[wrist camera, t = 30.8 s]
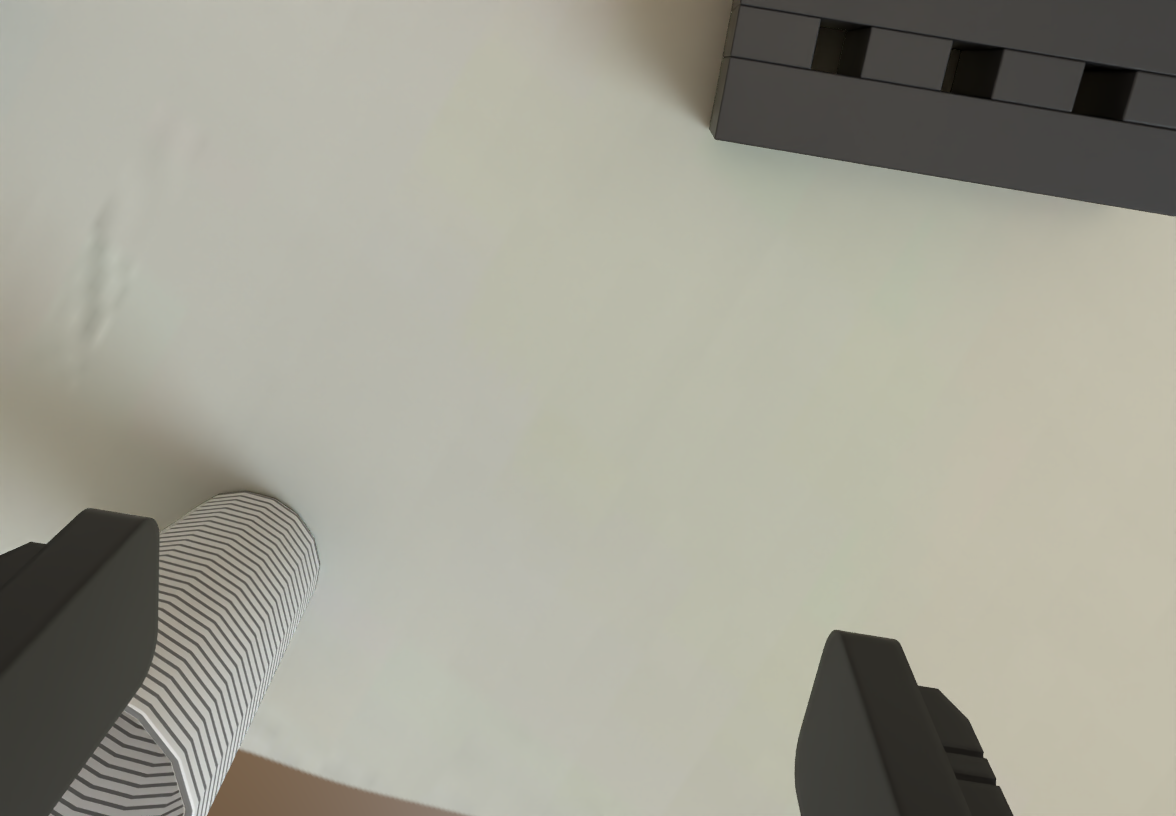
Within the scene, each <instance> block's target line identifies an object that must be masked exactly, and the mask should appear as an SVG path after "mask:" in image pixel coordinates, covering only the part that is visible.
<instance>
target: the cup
mask: <svg viewBox="0 0 1176 816" xmlns="http://www.w3.org/2000/svg"><path fill="white" fill-rule="evenodd" d="M159 538H160V546H159V602H158V636H157V643H156V649H155V653H154V657H153V660H152V663H151V666H150V669H149V671H148V674H147V676H146V678H145V680H144V682H143V684H142V685H141V687H140V688H139V690H138V691H137V692H136V694H135V695H134V697H133V698H132V699H131V701H130V702H129V704H128V705H127V707H126V708H125V709H124V711H123V712H122V714H121V715H120V716H119V718H118V719H117V721H116V722H115V723H114V725H113V726H112V728H111V729H110V730H109V732H108V733H107V735H106V736H105V737H104V739H103V740H102V742H101V743H100V744H99V746H98V747H97V749H96V750H95V751H94V753H93V754H92V756H91V757H90V758H89V760H88V761H87V763H86V764H85V765H84V767H83V768H82V770H81V771H80V772H79V774H78V775H77V777H76V778H75V779H74V781H73V782H72V784H71V785H70V786H69V788H68V789H67V791H66V792H65V793H64V795H63V796H62V798H61V799H60V800H59V802H58V803H57V805H56V806H55V807H54V809H53V810H52V812H51V813H50V814H49V816H207V814H208V811H209V809H210V807H211V805H212V803H213V801H214V799H215V797H216V795H217V793H218V791H219V789H220V786H221V784H222V782H223V780H224V778H225V776H226V774H227V772H228V770H229V768H230V766H231V764H232V761H233V759H234V757H235V755H236V753H237V751H238V749H239V747H240V745H241V743H242V741H243V739H244V736H245V734H246V732H247V730H248V728H249V726H250V724H251V722H252V720H253V718H254V716H255V713H256V711H257V709H258V707H259V705H260V703H261V701H262V699H263V697H264V695H265V693H266V691H267V688H268V686H269V684H270V682H271V680H272V678H273V676H274V674H275V672H276V670H277V668H278V666H279V663H280V661H281V659H282V657H283V655H284V653H285V651H286V649H287V647H288V645H289V643H290V640H291V638H292V636H293V634H294V632H295V630H296V628H297V626H298V624H299V622H300V620H301V618H302V615H303V613H304V611H305V609H306V607H307V605H308V603H309V601H310V599H311V597H312V595H313V593H314V590H315V588H316V583H317V578H318V573H319V568H320V561H319V557H318V552H317V548H316V544H315V539H314V537H313V535H312V534H311V533H310V531H309V530H308V528H307V527H306V525H305V524H304V523H303V521H302V520H301V518H300V517H299V515H298V514H296V513H295V512H293V511H292V510H290V509H289V508H288V507H286V506H285V505H283V504H282V503H280V502H279V501H278V500H276V499H274V498H270V497H267V496H263V495H259V494H256V493H252V492H248V491H243V492H234V493H224V494H218V495H216V496H215V497H213V498H211V499H209V500H208V501H206V502H204V503H202V504H201V505H199V506H197V507H195V508H194V509H193V510H191V511H190V512H188V513H187V514H185V515H184V516H183V517H181V518H180V519H178V520H177V521H175V522H174V523H173V524H171V525H170V526H168V527H167V528H165V529H164V530H163V531H161V532H160V533H159Z"/></svg>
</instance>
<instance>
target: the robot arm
mask: <svg viewBox="0 0 1176 816" xmlns="http://www.w3.org/2000/svg"><path fill="white" fill-rule="evenodd" d="M159 546H160V538H159V528H158V525H157V523H156V521H155V520H154V519H152V518H148V517H142V516H136V515H129V514H123V513H117V512H111V511H105V510H98V509H92V508H87V509H85V510H83V511H82V512H81V513H79V514H78V515H77V516H76V517H75V518H74V519H73V520H72V521H71V522H70V523H69V524H68V525H67V526H65V527H64V528H63V529H62V530H61V531H60V532H59V533H58V534H57V535H56V536H55V537H54V538H53V539H52V540H50V541H49V542H48V543H47V544H41V543H35V542H29V543H27V544H25V545H23V546H20V547H18V548H16V549H14V550H11V551H9V552H7V553H5V554H2V555H0V816H49V814H50V813H51V812H52V810H53V809H54V807H55V806H56V805H57V803H58V802H59V800H60V799H61V798H62V796H63V795H64V793H65V792H66V791H67V789H68V788H69V786H70V785H71V784H72V782H73V781H74V779H75V778H76V777H77V775H78V774H79V772H80V771H81V770H82V768H83V767H84V765H85V764H86V763H87V761H88V760H89V758H90V757H91V756H92V754H93V753H94V751H95V750H96V749H97V747H98V746H99V744H100V743H101V742H102V740H103V739H104V737H105V736H106V735H107V733H108V732H109V730H110V729H111V728H112V726H113V725H114V723H115V722H116V721H117V719H118V718H119V716H120V715H121V714H122V712H123V711H124V709H125V708H126V707H127V705H128V704H129V702H130V701H131V699H132V698H133V697H134V695H135V694H136V692H137V691H138V690H139V688H140V687H141V685H142V684H143V682H144V680H145V678H146V676H147V674H148V671H149V669H150V666H151V663H152V660H153V657H154V653H155V649H156V643H157V636H158V602H159ZM983 753H984V752H983V750H982V748H981V745H980V743H979V741H978V739H977V737H976V735H975V733H974V730H973V728H972V726H971V724H970V722H969V720H968V719H967V718H966V717H965V716H964V715H963V714H962V713H961V712H960V711H959V710H958V709H957V708H956V707H955V706H954V705H953V704H952V703H951V702H950V701H949V700H948V699H947V698H946V697H945V696H944V695H943V693H942V692H941V691H940V690H939V689H935V688H929V687H923V686H918V685H917V683H916V680H915V678H914V675H913V673H912V671H911V668H910V666H909V663H908V661H907V659H906V656H905V654H904V651H903V649H902V647H901V645H900V643H899V642H898V641H897V640H895V639H889V638H883V637H877V636H871V635H865V634H858V633H852V632H846V631H840V630H834V631H832V632H831V634H830V635H829V637H828V638H827V641H826V643H825V646H824V649H823V653H822V656H821V660H820V663H819V667H818V671H817V674H816V678H815V681H814V685H813V688H812V692H811V695H810V699H809V702H808V706H807V709H806V713H805V716H804V720H803V723H802V727H801V730H800V734H799V738H798V743H797V749H796V757H795V788H796V794H797V799H798V803H799V808H800V813H801V816H1013V814H1012V812H1011V810H1010V807H1009V805H1008V803H1007V801H1006V799H1005V797H1004V795H1003V792H1002V790H1001V788H1000V786H996V777H995V775H994V773H993V771H992V769H991V767H990V765H989V763H988V760H987V759H985V758H983Z"/></svg>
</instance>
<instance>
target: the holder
mask: <svg viewBox="0 0 1176 816" xmlns="http://www.w3.org/2000/svg"><path fill="white" fill-rule="evenodd" d="M731 11H732V12H731V15H730V20H729V26H728V31H727V36H726V42H725V47H724V52H723V57H724V58H723V59H722V63H721V68H720V74H719V79H718V84H717V89H716V95H715V100H714V105H713V111H712V116H711V121H710V127H709V130H710V131H711V133H712V135H713V137H714V138H715V139H716V140H721V141H727V142H733V143H739V144H745V145H751V146H757V147H763V148H769V149H775V150H781V151H787V152H793V153H799V154H805V155H811V156H817V157H823V158H829V159H835V160H841V161H847V162H852V163H858V164H864V165H870V166H876V167H882V168H888V169H894V170H900V171H906V172H912V173H918V174H924V175H930V176H936V177H942V178H948V179H954V180H960V181H966V182H972V183H978V184H984V185H990V186H996V187H1002V188H1007V189H1013V190H1019V191H1025V192H1031V193H1037V194H1043V195H1049V196H1055V197H1061V198H1067V199H1073V200H1079V201H1085V202H1091V203H1097V204H1103V205H1109V206H1115V207H1121V208H1127V209H1133V210H1139V211H1145V212H1151V213H1157V214H1163V215H1168V216H1176V0H733V4H732V10H731ZM820 27H826V28H832V29H838V30H844V31H846V33H845V38H844V42H843V47H842V51H841V56H840V60H839V65H838V69H837V74H834V73H828V72H822V71H816V70H810V69H811V66H812V61H813V56H814V52H815V47H816V42H817V38H818V33H819V28H820ZM952 48H953V49H959V50H963V51H962V52H961V55H960V58H959V62H958V66H957V70H956V74H955V78H954V82H953V86H952V90H951V93H948V92H942V91H940V90H941V88H942V84H943V80H944V76H945V72H946V68H947V64H948V60H949V56H950V52H951V49H952Z"/></svg>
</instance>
